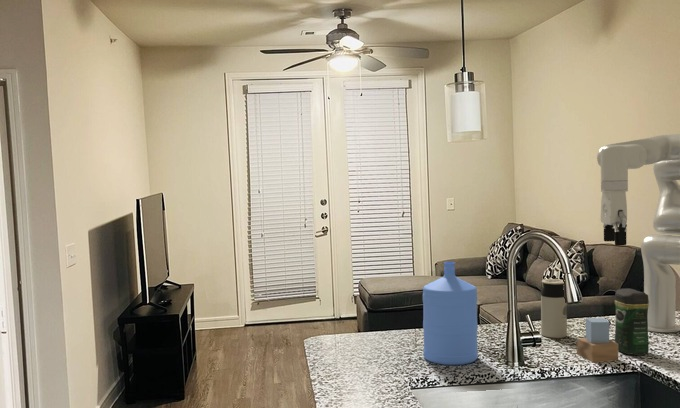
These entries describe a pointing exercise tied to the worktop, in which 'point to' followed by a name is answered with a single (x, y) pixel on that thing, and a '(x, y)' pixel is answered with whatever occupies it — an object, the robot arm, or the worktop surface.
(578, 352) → the walnut block
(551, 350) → the worktop surface
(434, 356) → the water jug
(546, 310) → the travel mug
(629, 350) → the coffee jar
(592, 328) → the blue block
